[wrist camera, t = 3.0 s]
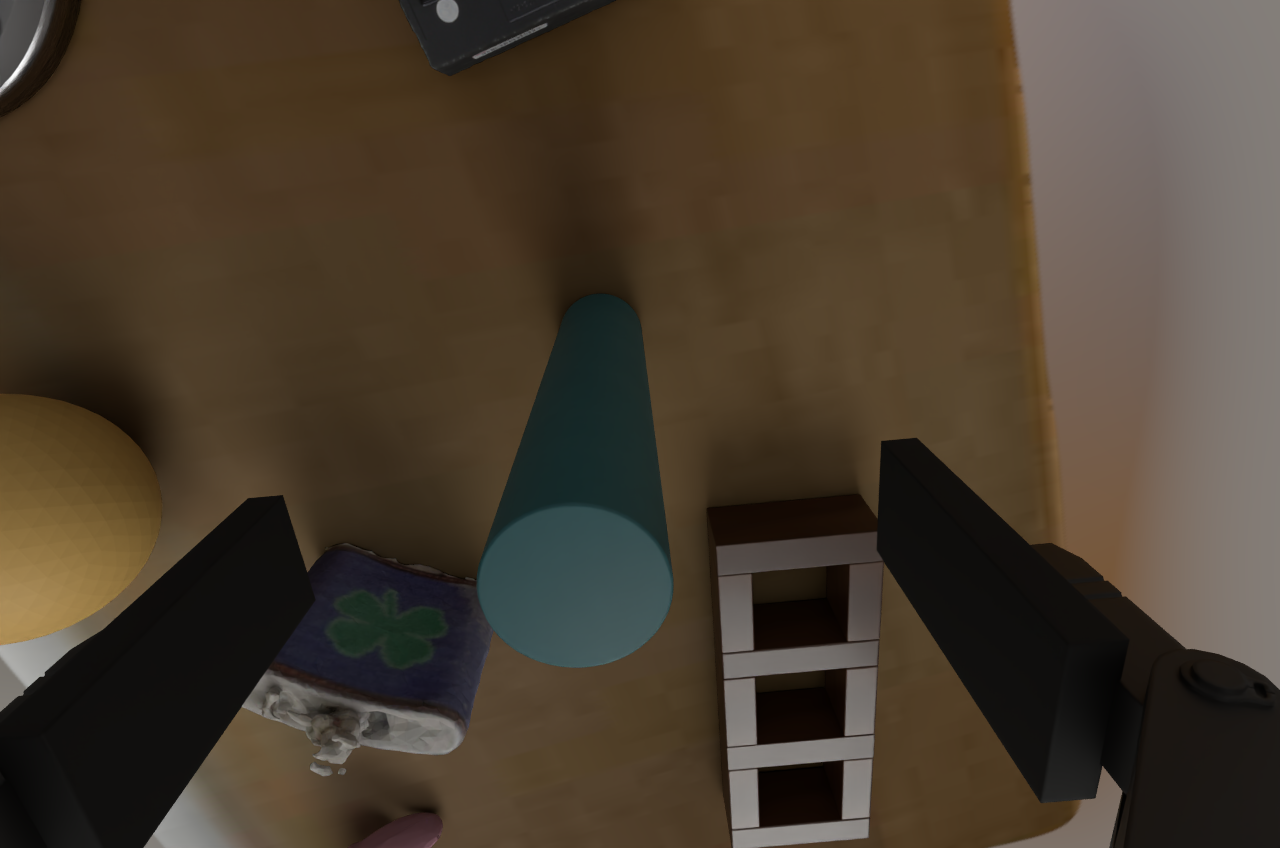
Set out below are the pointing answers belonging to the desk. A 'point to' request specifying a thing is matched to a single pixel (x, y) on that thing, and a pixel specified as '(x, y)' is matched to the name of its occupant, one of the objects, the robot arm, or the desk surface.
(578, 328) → the dowel
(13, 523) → the stress ball
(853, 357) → the desk surface
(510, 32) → the disk drive
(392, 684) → the flask
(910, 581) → the robot arm
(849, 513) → the pen block
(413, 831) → the video game controller
